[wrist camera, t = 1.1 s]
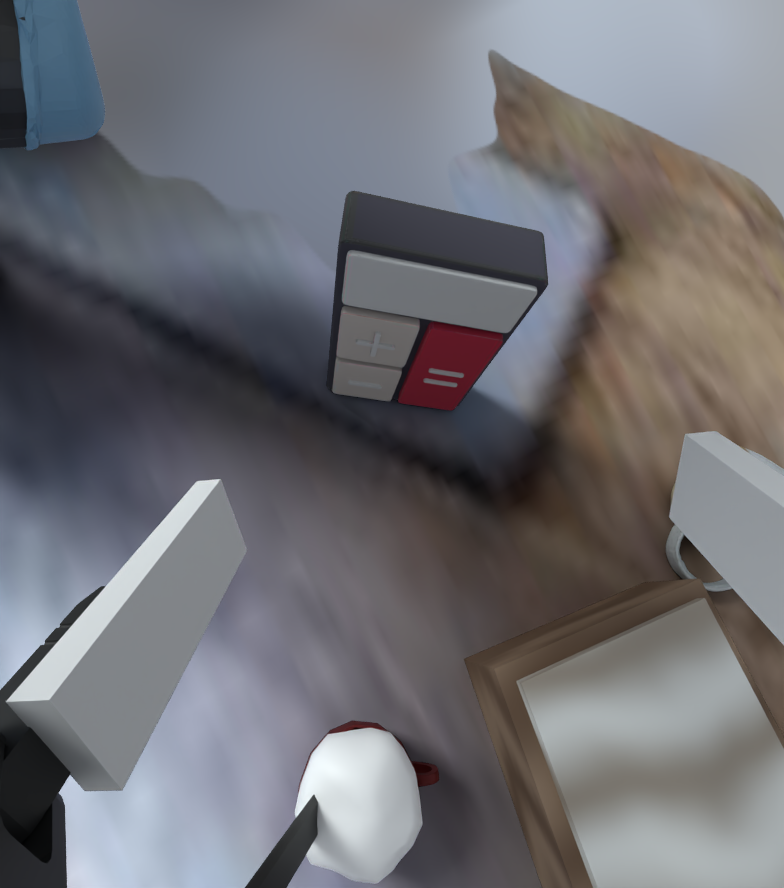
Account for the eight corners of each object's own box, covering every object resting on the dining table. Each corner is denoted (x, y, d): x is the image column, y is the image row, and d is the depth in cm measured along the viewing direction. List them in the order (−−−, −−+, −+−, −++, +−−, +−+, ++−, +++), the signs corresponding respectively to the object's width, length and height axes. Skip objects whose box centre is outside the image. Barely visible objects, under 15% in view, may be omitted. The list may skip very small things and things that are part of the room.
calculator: (324, 398, 33) (336, 251, 20) (331, 352, 35) (346, 187, 21) (456, 417, 35) (553, 293, 21) (457, 372, 37) (547, 231, 23)
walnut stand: (463, 658, 28) (498, 670, 23) (645, 582, 33) (707, 577, 28) (566, 958, 24) (638, 1056, 18) (761, 821, 28) (863, 869, 23)
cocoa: (428, 732, 27) (527, 809, 16) (401, 859, 24) (498, 1054, 13) (286, 687, 26) (290, 736, 15) (241, 812, 23) (206, 983, 12)
